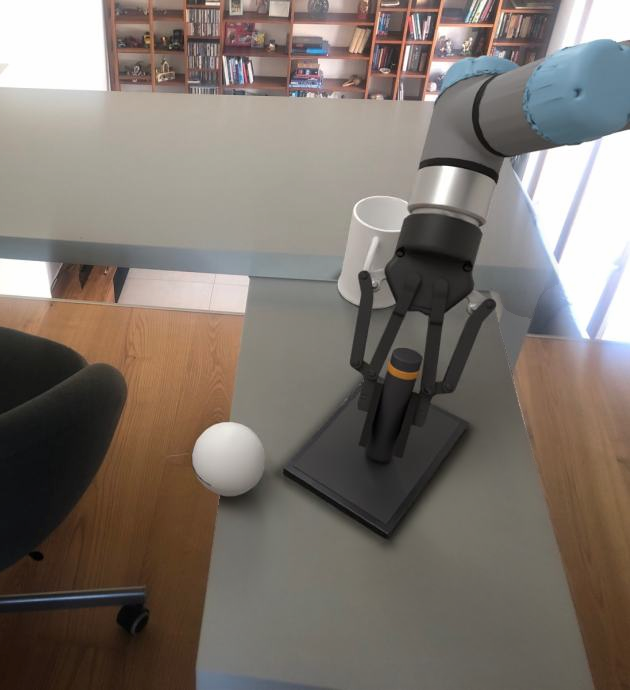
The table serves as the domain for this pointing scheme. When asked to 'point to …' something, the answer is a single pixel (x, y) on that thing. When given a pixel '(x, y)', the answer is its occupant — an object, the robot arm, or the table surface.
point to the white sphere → (228, 459)
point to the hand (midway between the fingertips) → (380, 450)
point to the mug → (371, 245)
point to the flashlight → (393, 403)
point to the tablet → (372, 465)
